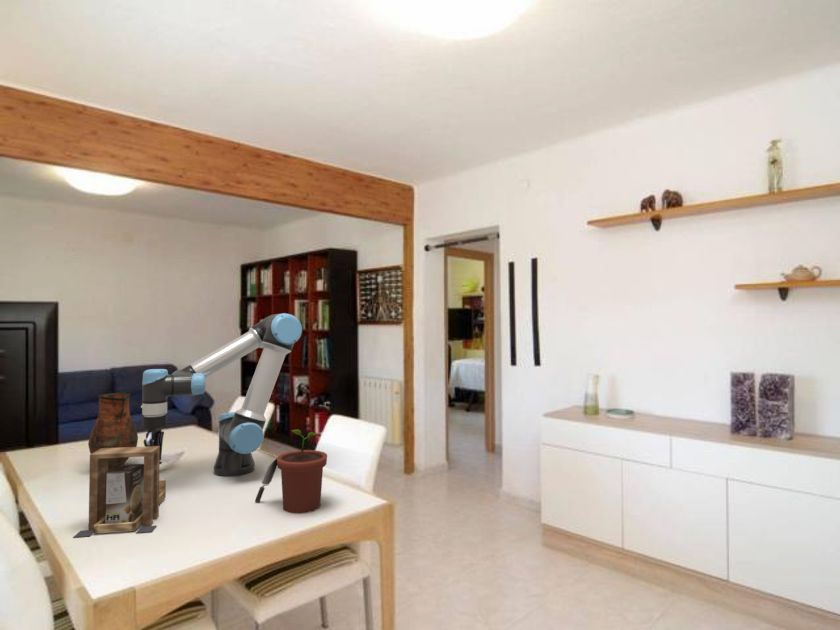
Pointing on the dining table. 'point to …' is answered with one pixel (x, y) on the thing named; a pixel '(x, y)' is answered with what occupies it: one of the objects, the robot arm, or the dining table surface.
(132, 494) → the coffee box
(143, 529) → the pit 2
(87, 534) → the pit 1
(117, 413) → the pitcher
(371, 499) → the dining table surface
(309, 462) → the potted plant
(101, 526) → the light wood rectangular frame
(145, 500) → the brown open upright frame
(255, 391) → the robot arm
